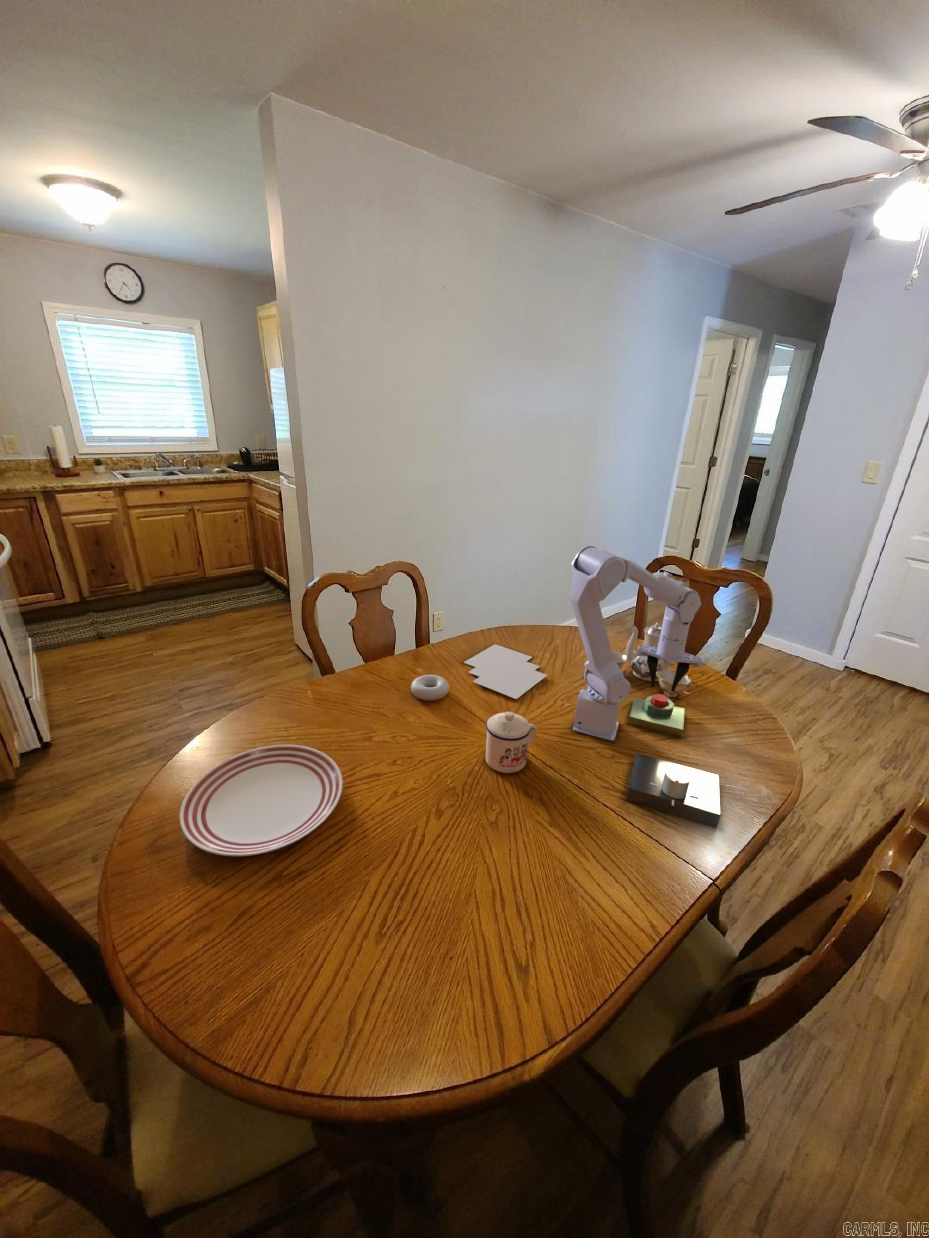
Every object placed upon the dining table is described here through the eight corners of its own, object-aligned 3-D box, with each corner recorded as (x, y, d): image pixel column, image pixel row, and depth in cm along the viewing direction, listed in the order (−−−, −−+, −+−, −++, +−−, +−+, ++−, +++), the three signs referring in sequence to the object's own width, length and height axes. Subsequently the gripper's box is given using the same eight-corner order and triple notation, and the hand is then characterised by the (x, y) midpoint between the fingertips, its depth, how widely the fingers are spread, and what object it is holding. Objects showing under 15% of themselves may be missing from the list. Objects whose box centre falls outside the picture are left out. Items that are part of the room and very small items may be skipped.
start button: (650, 705, 122) (652, 699, 121) (652, 698, 125) (653, 692, 124) (666, 709, 120) (667, 702, 120) (667, 701, 123) (668, 695, 123)
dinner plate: (338, 857, 82) (337, 841, 80) (156, 876, 77) (151, 860, 76) (347, 752, 107) (346, 739, 105) (209, 762, 102) (207, 749, 101)
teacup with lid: (499, 780, 100) (503, 731, 96) (476, 754, 107) (478, 708, 103) (546, 762, 106) (552, 715, 101) (521, 739, 113) (525, 694, 109)
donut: (434, 707, 124) (456, 690, 132) (434, 696, 123) (456, 679, 131) (403, 695, 129) (426, 679, 137) (402, 684, 128) (426, 668, 136)
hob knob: (662, 779, 97) (666, 763, 96) (686, 786, 96) (690, 770, 94) (660, 794, 94) (664, 777, 92) (686, 801, 92) (690, 784, 90)
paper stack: (445, 672, 141) (445, 670, 140) (494, 644, 159) (495, 642, 159) (516, 701, 128) (516, 699, 128) (561, 666, 146) (561, 664, 146)
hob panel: (624, 804, 95) (627, 791, 94) (633, 763, 106) (635, 751, 105) (717, 833, 89) (721, 819, 88) (715, 786, 100) (719, 774, 99)
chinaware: (585, 678, 144) (590, 627, 136) (606, 653, 156) (612, 605, 148) (688, 711, 129) (700, 656, 122) (702, 680, 141) (714, 629, 134)
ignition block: (628, 724, 120) (630, 709, 119) (633, 703, 129) (635, 690, 127) (681, 737, 116) (684, 723, 114) (683, 715, 124) (686, 701, 123)
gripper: (707, 635, 116) (695, 686, 122) (642, 624, 122) (633, 673, 127) (707, 647, 110) (694, 700, 116) (639, 634, 116) (630, 685, 121)
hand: (662, 687), depth 121 cm, fingers open, 4 cm apart
